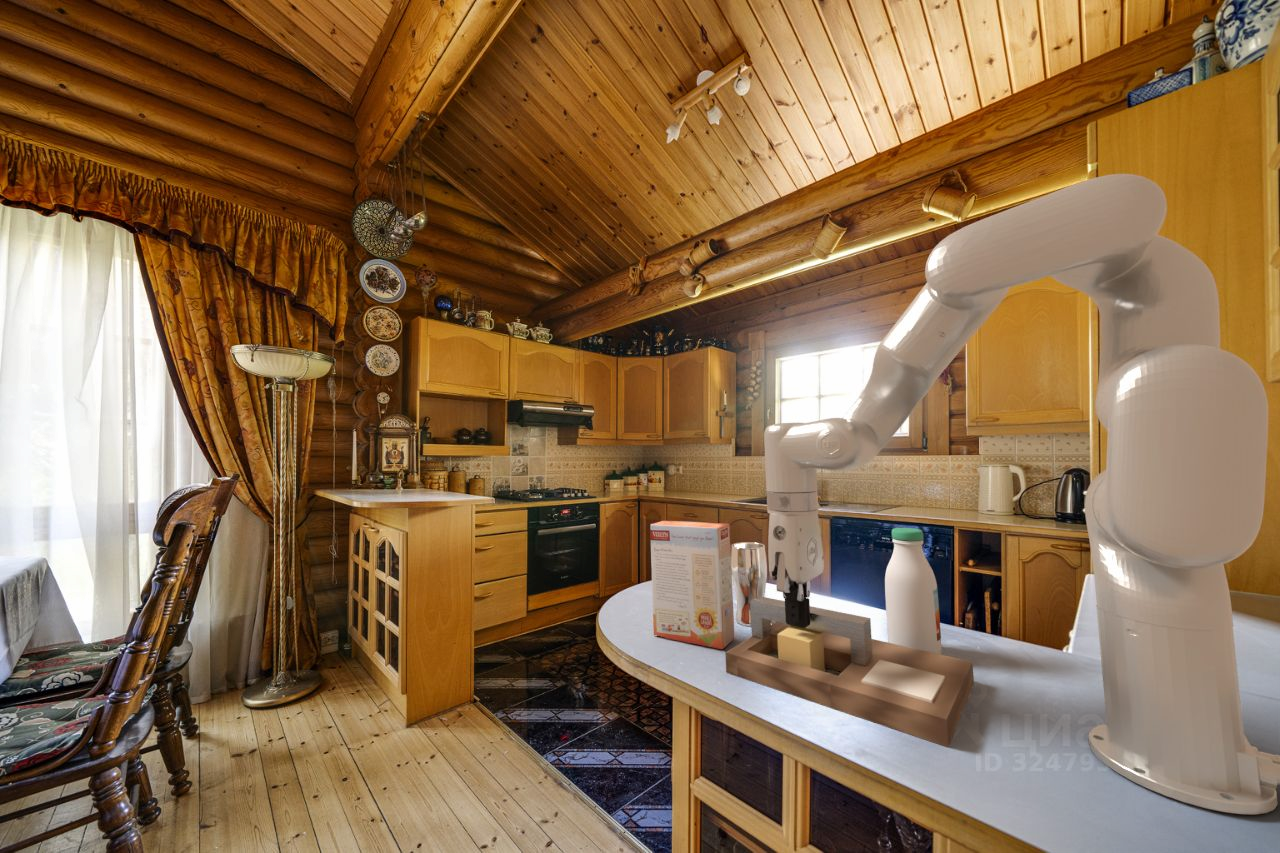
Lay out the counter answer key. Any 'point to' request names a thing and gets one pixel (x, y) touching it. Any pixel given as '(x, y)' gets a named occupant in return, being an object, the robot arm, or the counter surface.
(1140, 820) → the counter surface
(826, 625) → the gray bridge block
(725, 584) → the cracker box
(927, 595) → the milk bottle
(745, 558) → the beer glass
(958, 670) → the brown wooden divided tray
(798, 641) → the ochre block
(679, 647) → the counter surface
